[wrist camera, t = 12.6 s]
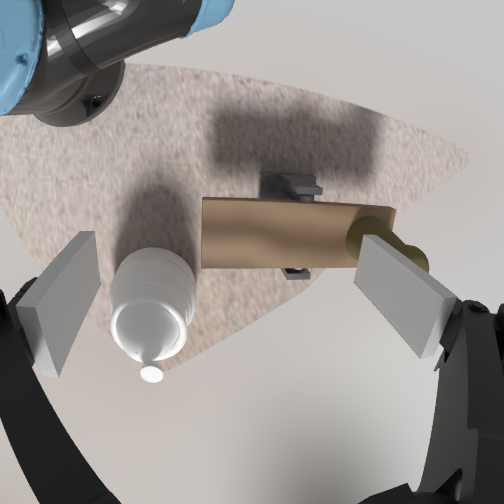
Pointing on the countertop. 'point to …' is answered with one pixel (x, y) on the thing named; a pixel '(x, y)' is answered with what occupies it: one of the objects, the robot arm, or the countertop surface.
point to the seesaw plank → (280, 232)
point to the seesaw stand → (288, 190)
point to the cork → (377, 227)
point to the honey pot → (152, 307)
